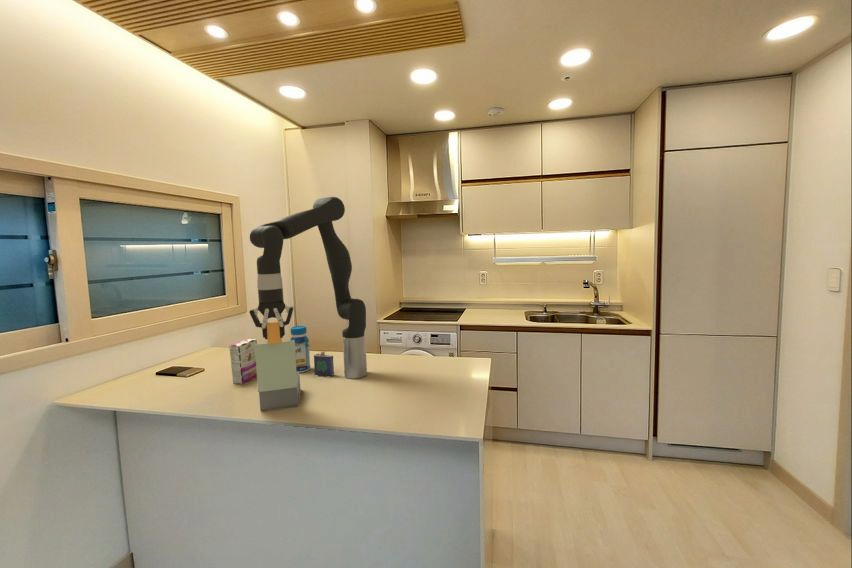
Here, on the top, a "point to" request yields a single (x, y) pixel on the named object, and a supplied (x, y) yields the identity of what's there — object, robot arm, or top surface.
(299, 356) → the beverage bottle
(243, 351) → the candy bar box
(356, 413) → the top surface
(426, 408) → the top surface
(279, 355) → the lid
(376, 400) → the top surface
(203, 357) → the top surface
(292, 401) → the tub
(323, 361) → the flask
